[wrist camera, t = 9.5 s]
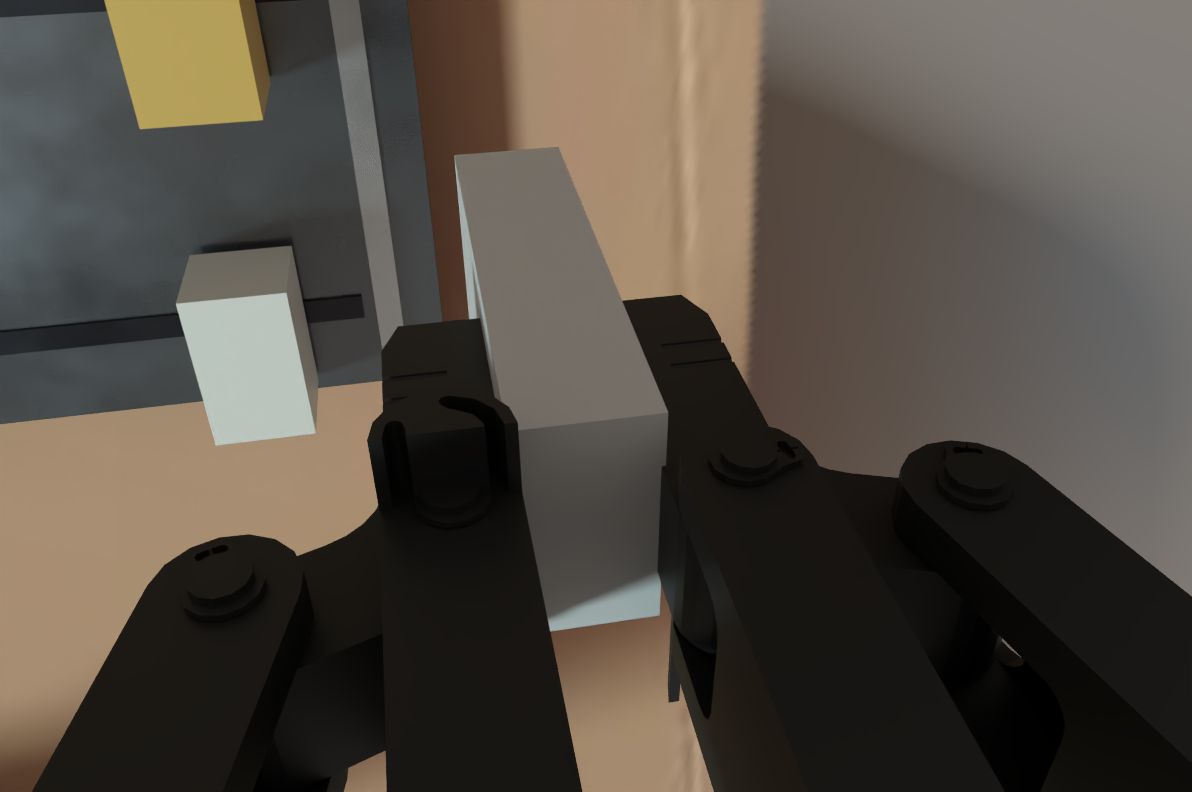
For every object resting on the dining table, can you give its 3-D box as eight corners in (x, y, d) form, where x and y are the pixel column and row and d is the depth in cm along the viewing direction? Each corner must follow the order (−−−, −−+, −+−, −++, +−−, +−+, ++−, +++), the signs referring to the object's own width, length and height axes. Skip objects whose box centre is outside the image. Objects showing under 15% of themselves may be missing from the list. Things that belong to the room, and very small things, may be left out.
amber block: (158, 90, 28) (139, 129, 26) (106, -111, 25) (80, -88, 23) (270, 82, 28) (262, 120, 26) (232, -116, 26) (219, -95, 23)
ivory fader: (225, 390, 34) (215, 445, 31) (189, 255, 31) (175, 303, 28) (318, 380, 34) (315, 433, 32) (291, 245, 31) (286, 292, 29)
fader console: (-180, 395, 35) (-221, 450, 32) (-468, -131, 25) (-557, -111, 23) (442, 328, 38) (448, 374, 35) (387, -160, 28) (390, -145, 26)
